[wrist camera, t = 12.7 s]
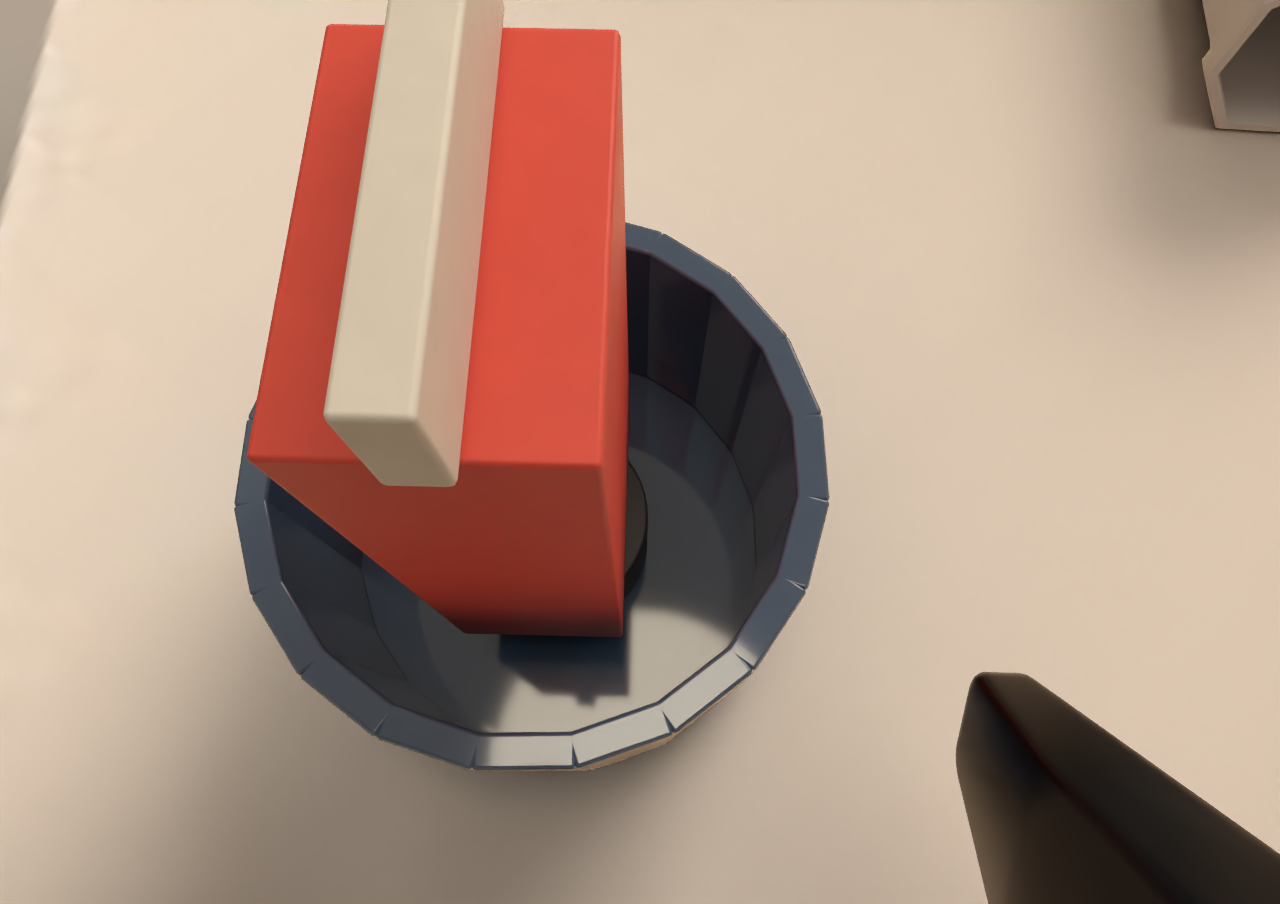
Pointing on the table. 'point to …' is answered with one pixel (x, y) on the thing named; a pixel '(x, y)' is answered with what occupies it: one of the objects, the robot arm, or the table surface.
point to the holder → (653, 610)
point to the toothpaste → (463, 319)
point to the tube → (1243, 63)
